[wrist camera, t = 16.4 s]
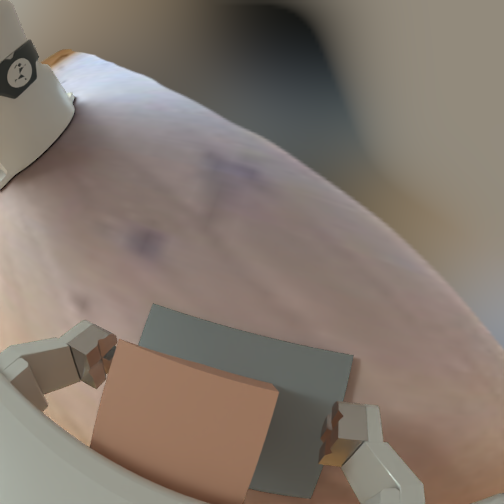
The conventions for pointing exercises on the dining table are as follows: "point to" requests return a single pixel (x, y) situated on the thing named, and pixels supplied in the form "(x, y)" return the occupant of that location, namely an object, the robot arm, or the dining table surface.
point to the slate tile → (272, 371)
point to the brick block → (183, 423)
